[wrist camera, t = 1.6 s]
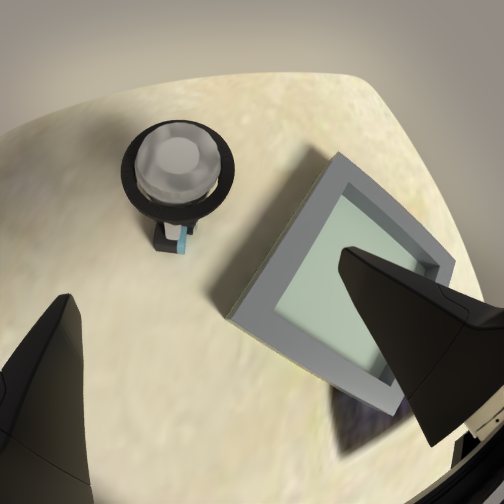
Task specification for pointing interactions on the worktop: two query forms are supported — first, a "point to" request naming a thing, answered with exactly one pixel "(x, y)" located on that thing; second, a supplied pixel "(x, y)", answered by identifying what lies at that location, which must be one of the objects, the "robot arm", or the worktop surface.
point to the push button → (177, 178)
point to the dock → (335, 282)
